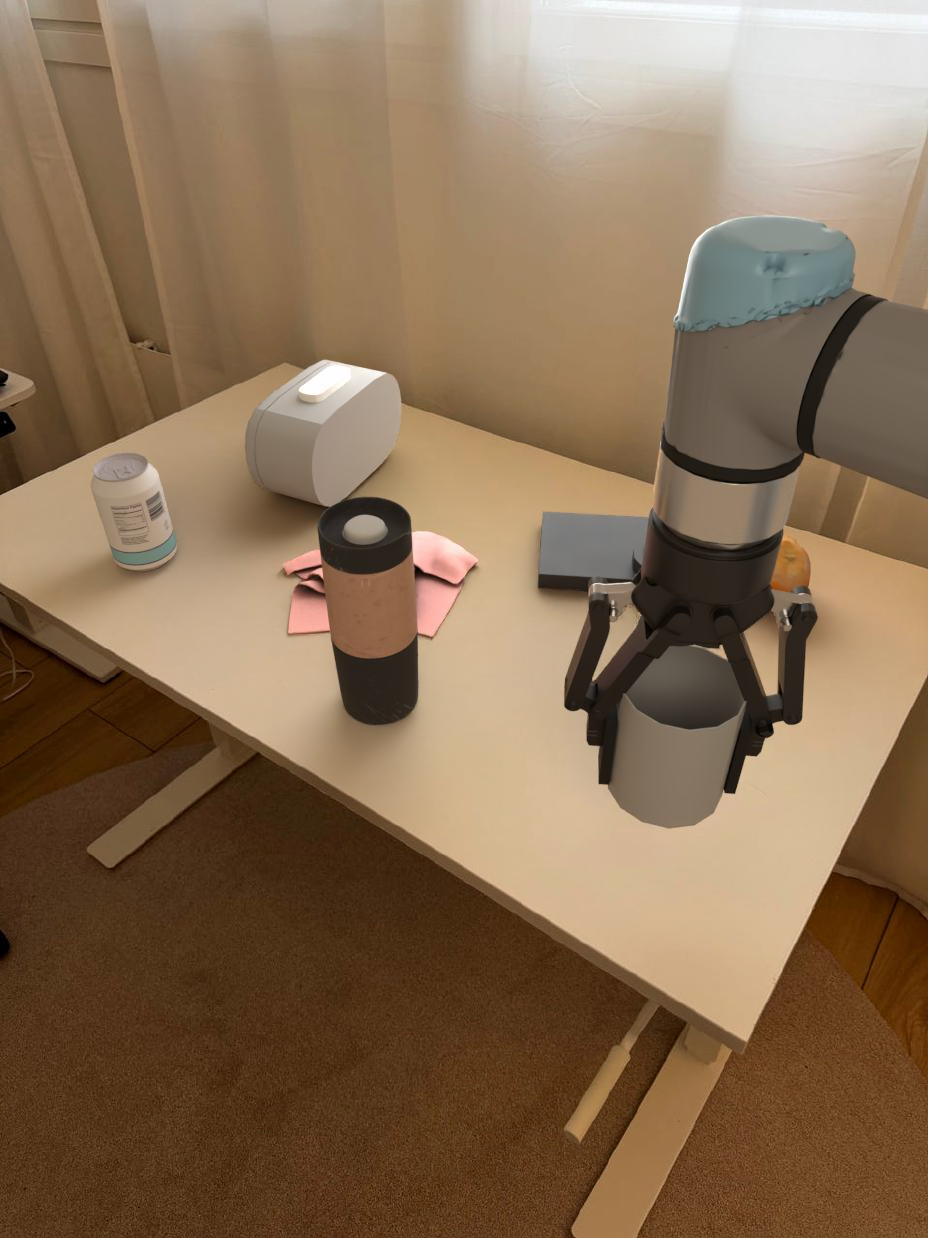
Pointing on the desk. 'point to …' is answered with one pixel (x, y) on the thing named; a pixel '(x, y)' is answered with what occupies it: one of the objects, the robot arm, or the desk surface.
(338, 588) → the travel mug
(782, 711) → the robot arm
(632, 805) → the cup
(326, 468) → the alarm clock
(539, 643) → the desk surface
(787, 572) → the fruit
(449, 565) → the cloth
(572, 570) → the scale
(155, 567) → the beverage can
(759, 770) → the desk surface
